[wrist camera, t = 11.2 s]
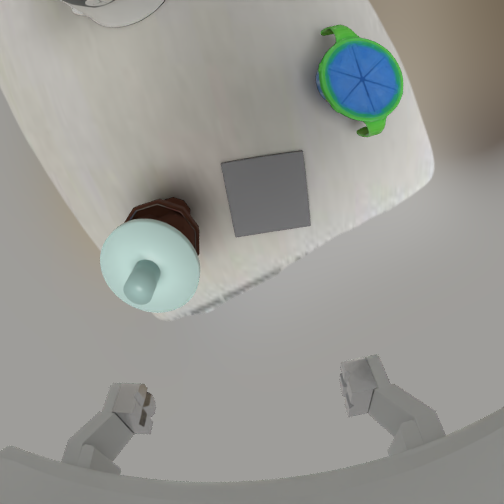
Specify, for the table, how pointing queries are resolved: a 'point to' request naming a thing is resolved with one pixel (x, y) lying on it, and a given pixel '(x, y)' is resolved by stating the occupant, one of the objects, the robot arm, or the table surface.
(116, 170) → the table surface
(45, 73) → the table surface
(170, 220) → the ice cream bowl
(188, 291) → the lid
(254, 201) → the mat
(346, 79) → the snack cup
